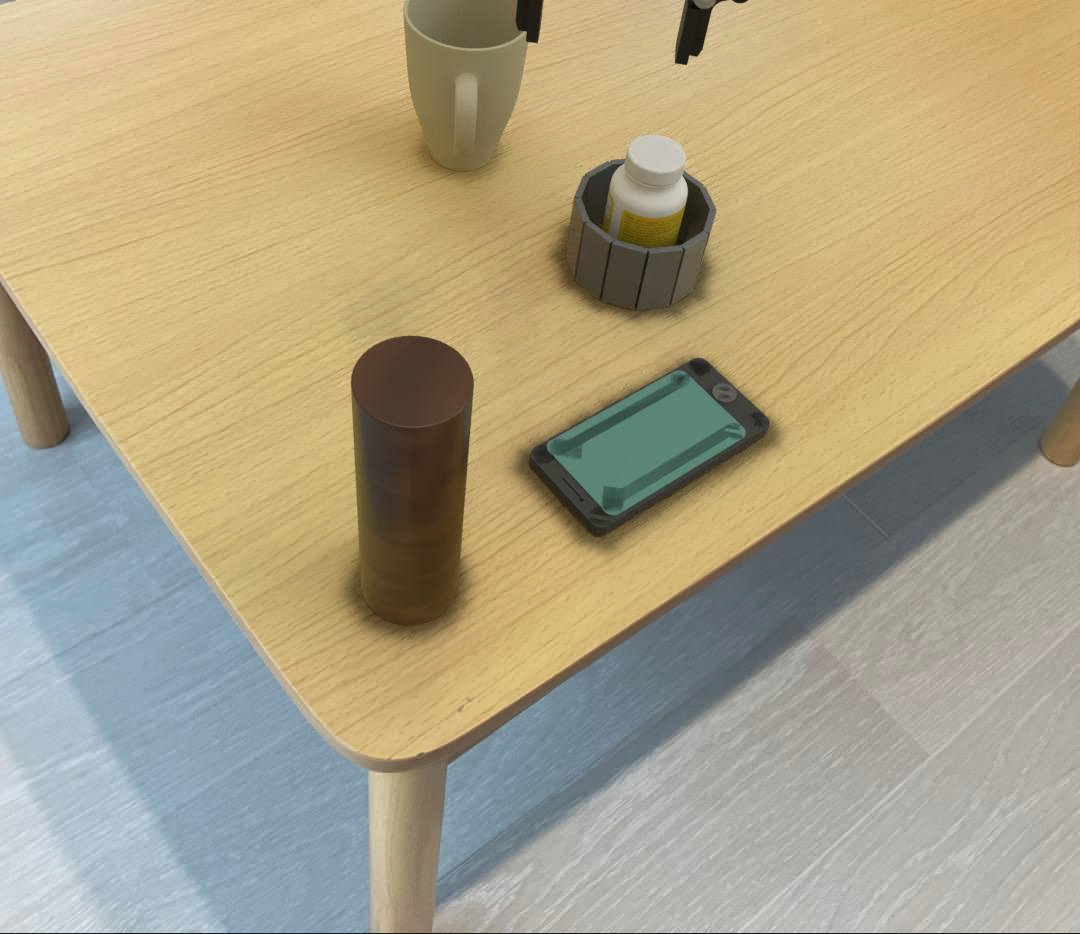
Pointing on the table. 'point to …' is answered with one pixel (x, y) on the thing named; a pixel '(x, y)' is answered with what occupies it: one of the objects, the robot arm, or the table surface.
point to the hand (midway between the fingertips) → (607, 45)
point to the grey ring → (635, 248)
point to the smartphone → (647, 445)
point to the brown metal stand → (411, 474)
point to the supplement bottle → (647, 194)
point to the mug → (463, 75)
